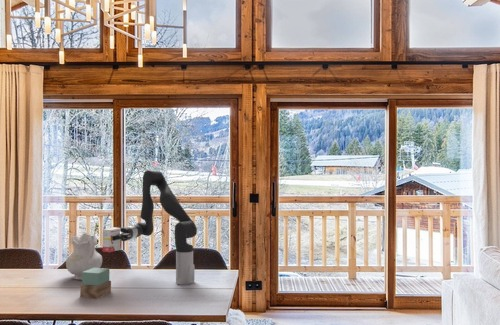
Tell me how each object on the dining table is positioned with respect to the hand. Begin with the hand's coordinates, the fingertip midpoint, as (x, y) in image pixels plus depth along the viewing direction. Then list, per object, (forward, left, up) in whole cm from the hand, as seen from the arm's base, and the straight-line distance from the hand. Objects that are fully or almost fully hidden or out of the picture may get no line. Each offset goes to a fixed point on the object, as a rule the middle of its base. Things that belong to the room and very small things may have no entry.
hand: (108, 238), depth 205 cm
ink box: (0, -3, -7) cm, 8 cm away
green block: (-2, +11, -20) cm, 23 cm away
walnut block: (-2, +11, -26) cm, 28 cm away
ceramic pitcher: (+24, -12, -26) cm, 38 cm away
